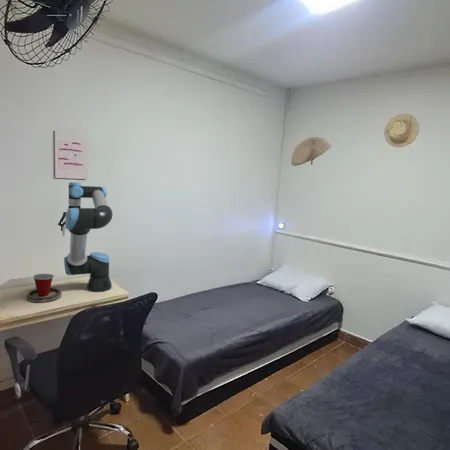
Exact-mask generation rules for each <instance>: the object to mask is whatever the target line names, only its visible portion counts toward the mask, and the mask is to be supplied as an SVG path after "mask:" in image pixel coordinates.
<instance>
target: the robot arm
mask: <svg viewBox="0 0 450 450" xmlns="http://www.w3.org/2000/svg"><path fill="white" fill-rule="evenodd" d="M106 197H107V188H106V187H105V186H93V185H92V186H90V185H89V186H88V185H82V183H81V182H75V181H69V182H68V209H67V210H66V211H64V212H63V213H62V216H61V218H60V220H59V222H58V223H57V226H60V231H61V233H62V234H61V235H62V236H61V237H65V236H66V230H68V233H70V243H69V253H68V254H67V256H65V257H64V258H63V262H64V264H63V265H64V271H65V274H66V275H67V276H78V275H87V274H88V275H89V278H88V281H87V285H86V289H87V291H89V292H94V293H98V292H99V293H100V292H101V293H102V292H106V291H109V290H111V289H112V285H113V284H112V281H111V278H110V256H109V255H108V254H107V253H104V252H98V251H97V252H95V251H94V252H90V253H89V255H87V254H86V248H87V238H88V234H89V232H91V230H98V229H102V228H105V227H106V226H107V225H109V223H110V222H111V221H112V218H113V210H112V208H111V207H110V206H109V205H108V201H107V199H106ZM82 198H83V199H84V198H85V199H92V202H93V206H94V207H91V208H90V207H89V208H88V207H82V208H81V204H82V203H81V201H82ZM63 221H64V222H63ZM61 222H62V224H61Z"/></svg>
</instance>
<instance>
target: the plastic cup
mask: <svg viewBox="0 0 450 450" xmlns="http://www.w3.org/2000/svg"><path fill="white" fill-rule="evenodd" d="M32 277H33V280H34V285H35V288H36V289H37V293H38V296H40V297H44V296H48V295H49V292H50V288H52V287H51V286H52V281H53V279H54V277H55V276H54V274H50V273H38V274H34V275H33V276H32ZM36 289H35V290H36Z"/></svg>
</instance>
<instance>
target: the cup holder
mask: <svg viewBox="0 0 450 450" xmlns="http://www.w3.org/2000/svg"><path fill="white" fill-rule="evenodd" d="M62 296H63V294H62V291H61V290H60V289H59V288H56V287H50V292H49V295H48V296H44V297H40V296H38V293H37V289H32V290H30V291H29V292H28V293H27V295H26V301H27V302H29V303H33V304H45V303H46V304H47V303H51V302H54V301H57V300H60V299H61V298H62Z"/></svg>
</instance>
